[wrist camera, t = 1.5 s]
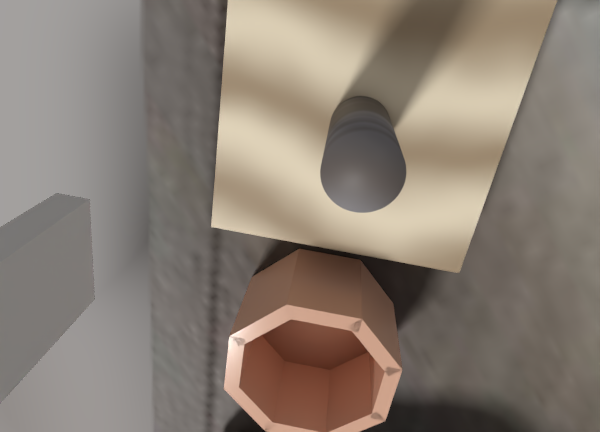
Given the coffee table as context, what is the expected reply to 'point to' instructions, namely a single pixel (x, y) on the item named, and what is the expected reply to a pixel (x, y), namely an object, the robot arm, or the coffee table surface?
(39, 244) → the robot arm
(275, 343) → the bowl
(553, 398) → the coffee table surface
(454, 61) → the lid
